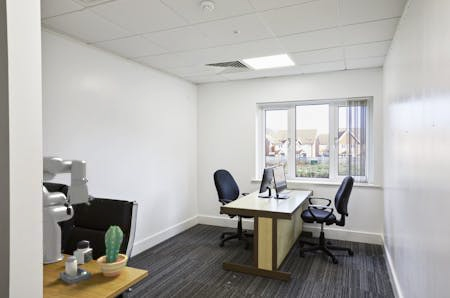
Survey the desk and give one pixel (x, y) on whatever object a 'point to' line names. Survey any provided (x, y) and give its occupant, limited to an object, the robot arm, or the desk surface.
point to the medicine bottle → (83, 253)
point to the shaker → (71, 266)
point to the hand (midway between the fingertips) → (78, 213)
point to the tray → (76, 279)
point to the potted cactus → (112, 253)
